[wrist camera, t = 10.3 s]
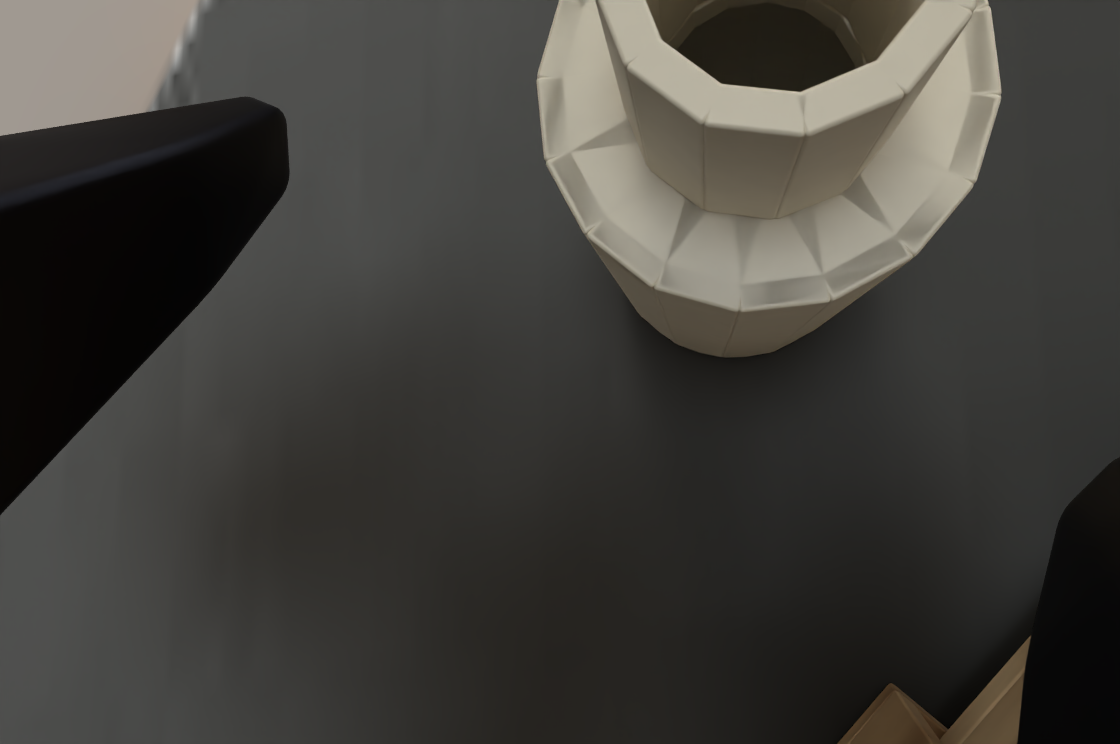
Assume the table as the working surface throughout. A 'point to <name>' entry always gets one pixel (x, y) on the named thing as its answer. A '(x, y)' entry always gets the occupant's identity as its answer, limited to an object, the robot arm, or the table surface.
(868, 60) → the bottle
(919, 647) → the table surface
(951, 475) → the table surface
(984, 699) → the drawer
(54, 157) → the robot arm
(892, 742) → the cabinet
